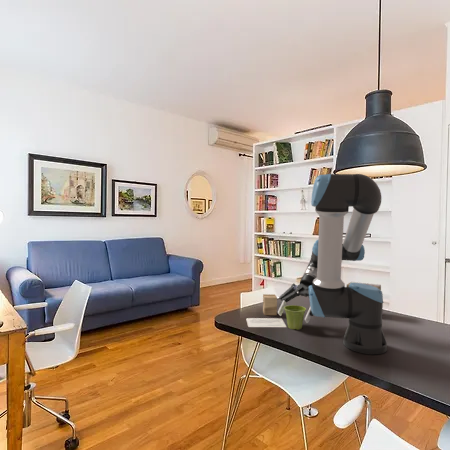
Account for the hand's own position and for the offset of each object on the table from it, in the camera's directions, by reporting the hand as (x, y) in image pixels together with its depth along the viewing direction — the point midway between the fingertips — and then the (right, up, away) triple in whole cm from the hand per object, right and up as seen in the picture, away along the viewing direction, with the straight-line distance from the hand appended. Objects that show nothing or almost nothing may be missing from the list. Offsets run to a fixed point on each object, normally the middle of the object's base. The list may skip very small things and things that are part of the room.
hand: (292, 317), depth 141 cm
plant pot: (+1, -5, +2) cm, 5 cm away
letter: (-11, -4, +7) cm, 14 cm away
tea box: (+41, -5, +24) cm, 48 cm away
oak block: (-7, -4, +21) cm, 23 cm away
